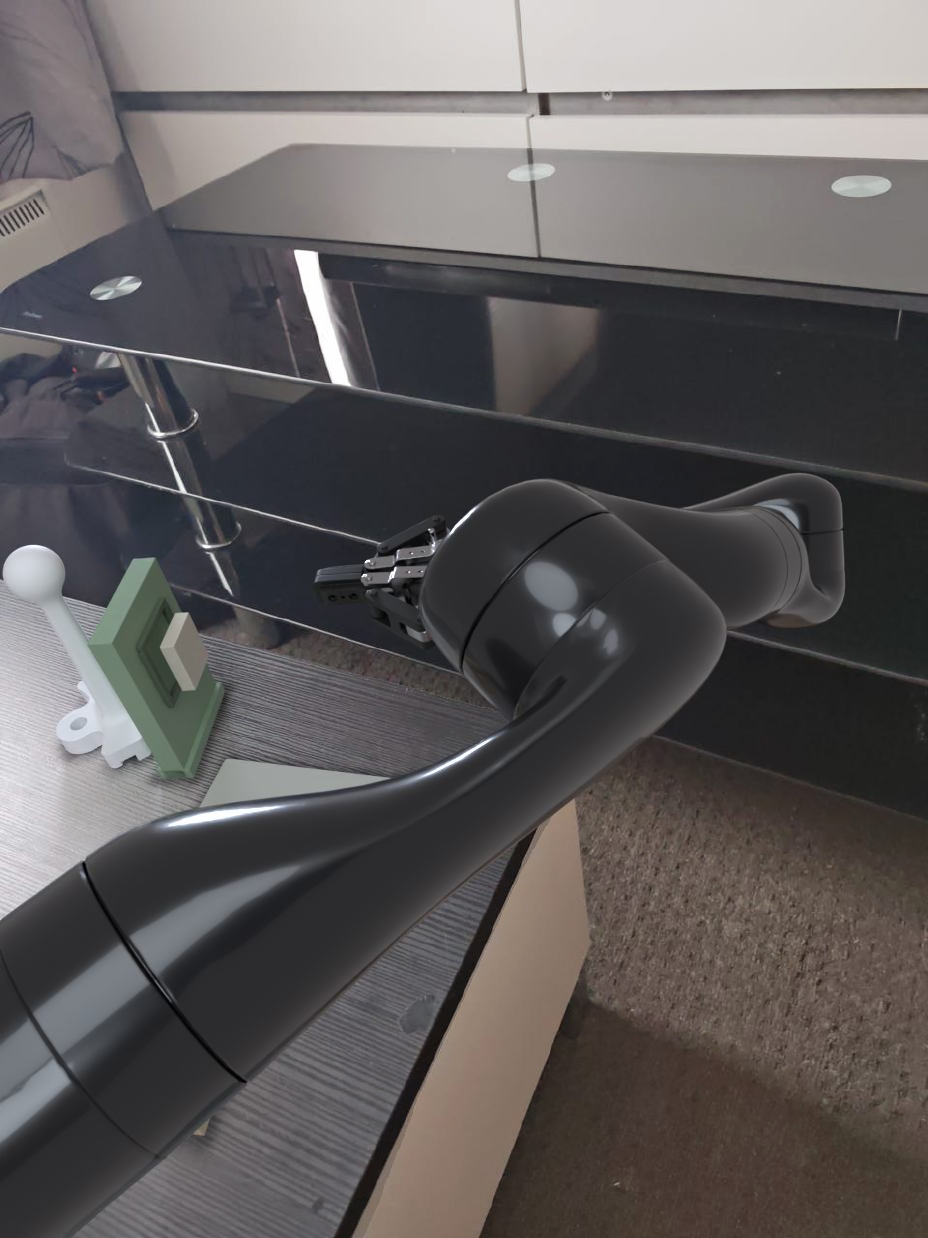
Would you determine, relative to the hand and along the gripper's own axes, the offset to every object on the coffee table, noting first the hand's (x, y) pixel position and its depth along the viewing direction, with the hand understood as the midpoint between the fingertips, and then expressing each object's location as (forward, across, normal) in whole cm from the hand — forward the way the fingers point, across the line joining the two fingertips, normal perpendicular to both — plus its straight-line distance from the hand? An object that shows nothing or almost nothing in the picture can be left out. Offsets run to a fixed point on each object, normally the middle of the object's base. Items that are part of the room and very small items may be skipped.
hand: (317, 587), depth 68 cm
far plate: (+15, 0, +16) cm, 21 cm away
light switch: (+4, +10, +16) cm, 19 cm away
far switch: (+13, 0, +8) cm, 15 cm away
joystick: (+24, -1, +16) cm, 29 cm away
